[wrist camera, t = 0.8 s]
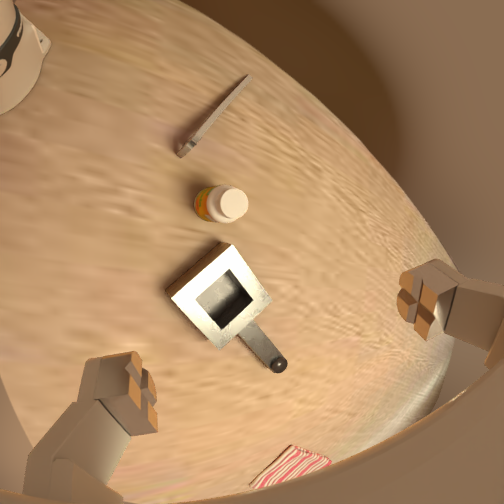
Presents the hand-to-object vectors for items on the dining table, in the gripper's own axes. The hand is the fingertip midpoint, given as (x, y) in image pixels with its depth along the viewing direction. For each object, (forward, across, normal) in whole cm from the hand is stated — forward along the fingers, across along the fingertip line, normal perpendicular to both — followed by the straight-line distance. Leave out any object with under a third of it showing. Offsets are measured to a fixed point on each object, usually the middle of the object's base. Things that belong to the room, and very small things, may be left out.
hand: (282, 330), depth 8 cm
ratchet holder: (+35, -1, +28) cm, 45 cm away
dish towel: (+25, -4, +81) cm, 85 cm away
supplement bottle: (+40, -1, +8) cm, 41 cm away
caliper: (+45, -5, -6) cm, 45 cm away
